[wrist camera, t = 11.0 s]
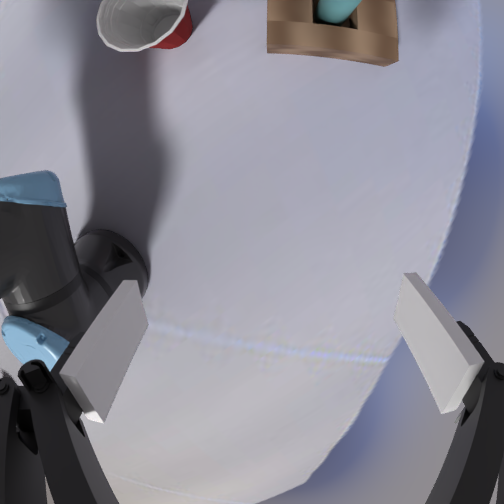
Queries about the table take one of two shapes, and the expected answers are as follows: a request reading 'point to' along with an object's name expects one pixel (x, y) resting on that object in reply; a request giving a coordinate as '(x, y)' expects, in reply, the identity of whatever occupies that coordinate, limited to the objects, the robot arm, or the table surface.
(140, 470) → the table surface
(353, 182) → the table surface
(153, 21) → the plastic cup
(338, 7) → the teal peg
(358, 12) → the bore block
